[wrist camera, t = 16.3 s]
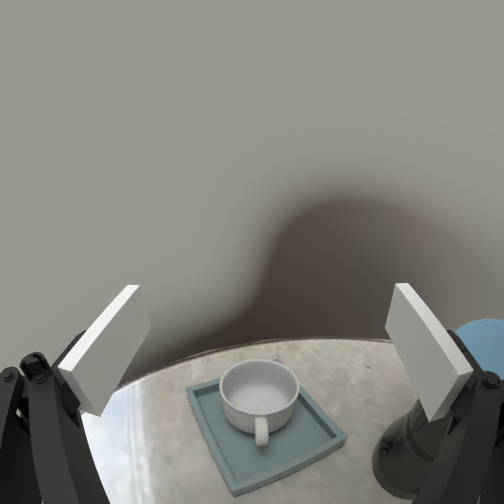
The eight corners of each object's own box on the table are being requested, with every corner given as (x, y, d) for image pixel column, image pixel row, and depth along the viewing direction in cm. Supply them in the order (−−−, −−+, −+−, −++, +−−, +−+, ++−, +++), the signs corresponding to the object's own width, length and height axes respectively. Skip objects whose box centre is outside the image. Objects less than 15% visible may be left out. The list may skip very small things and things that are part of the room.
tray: (277, 369, 47) (277, 358, 46) (342, 446, 30) (347, 436, 29) (188, 398, 40) (185, 388, 39) (234, 496, 23) (231, 491, 22)
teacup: (233, 386, 42) (229, 353, 39) (297, 391, 40) (301, 358, 37) (212, 454, 29) (202, 427, 26) (291, 463, 28) (296, 438, 25)
